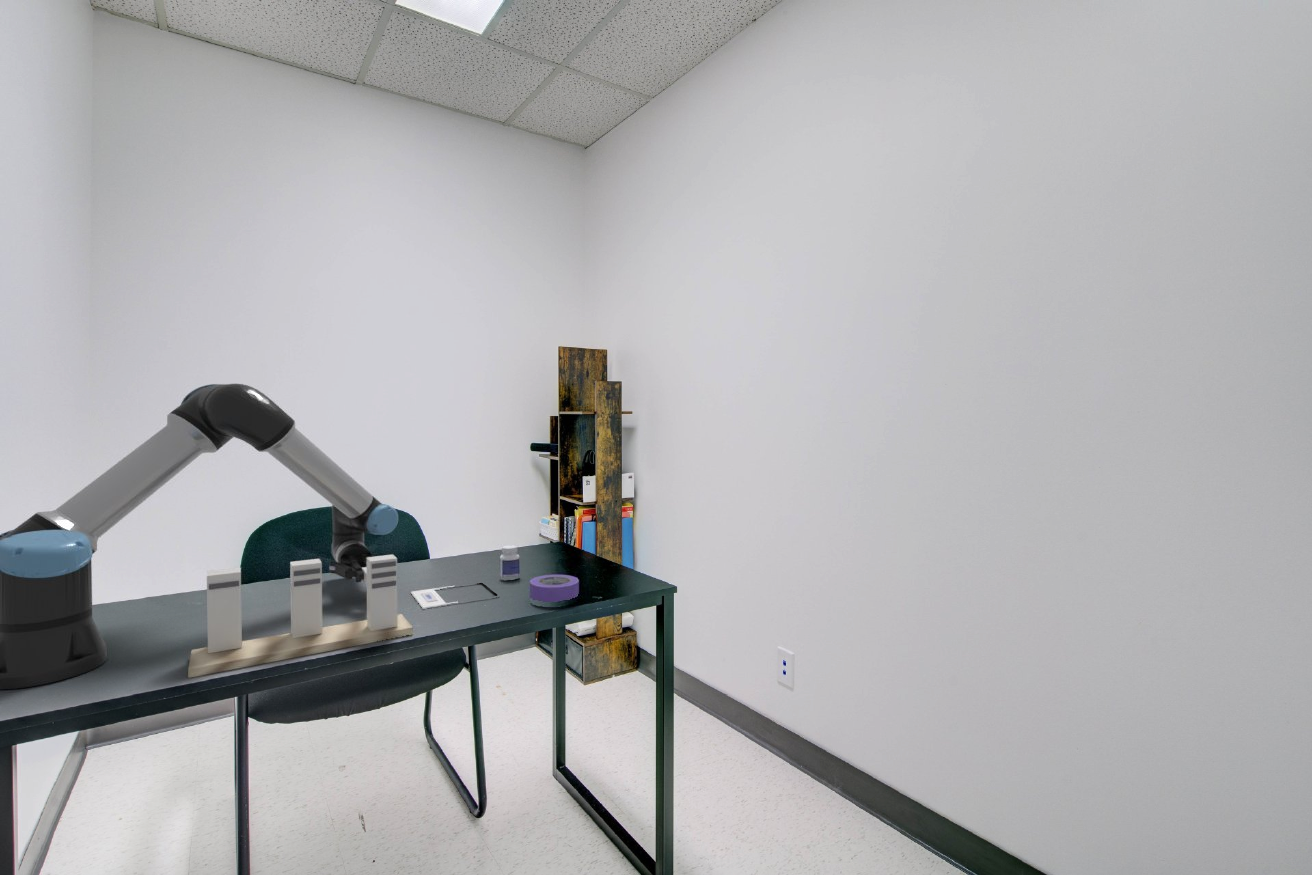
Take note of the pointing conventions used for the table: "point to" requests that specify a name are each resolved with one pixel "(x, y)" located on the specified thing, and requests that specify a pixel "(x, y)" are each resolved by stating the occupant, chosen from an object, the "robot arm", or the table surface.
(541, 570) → the table surface
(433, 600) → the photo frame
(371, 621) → the tile
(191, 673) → the key base
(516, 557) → the pill bottle
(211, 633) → the tile
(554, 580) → the tape roll
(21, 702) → the table surface
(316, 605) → the white tall block
